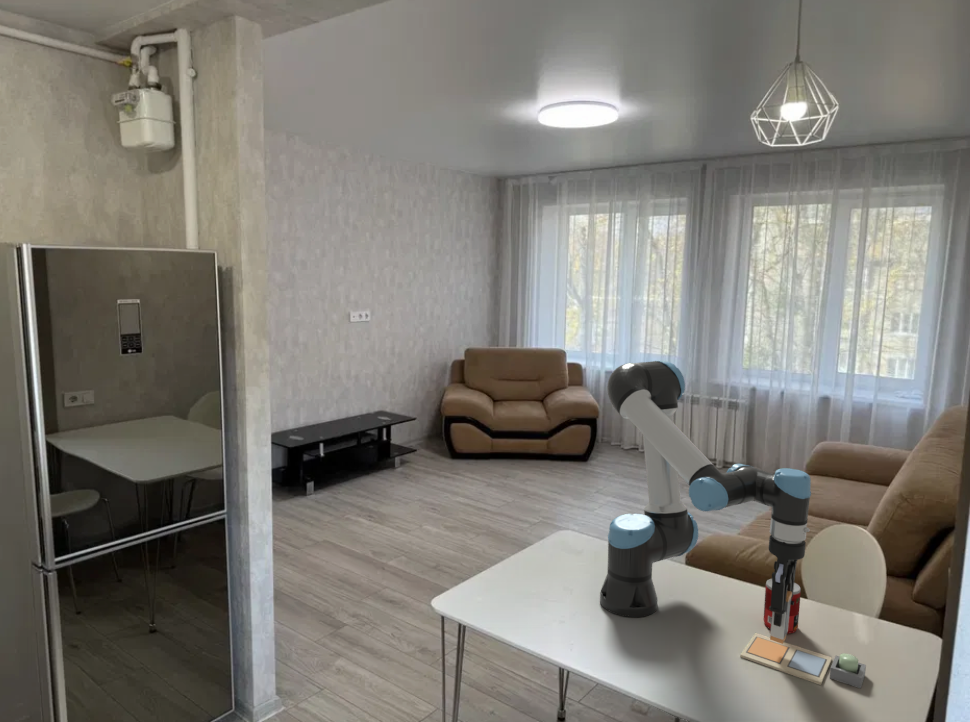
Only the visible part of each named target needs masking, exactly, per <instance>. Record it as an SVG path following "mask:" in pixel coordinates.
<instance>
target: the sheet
mask: <svg viewBox="0 0 970 722" xmlns="http://www.w3.org/2000/svg"><path fill="white" fill-rule="evenodd" d="M750 638H751V639H750V640H749V641H748V643H747V645H746V646H745V647H744V648H743V650H742V652H741V653H740V654H739V655H740V656H739V657H740V658H742V659H745V660H748V661H751V662H754V663H757V664H760V665H762V666H764V667H765V666H766V667H768V668H771V669H774V670H777V671H780V672H782V673H784V674H788V675H791V676H794V677H796V678H800V679H802V680H805V681H808V682H811V683H813V684H817V685H820V686H821V685H822V684H823V681H824V679H825V677H826V674H827V672H828V669H829V668H830V666H831V664H832V663H831V662H833V657H832V656H828V655H826V654H822V653H820V652H815V651H813V650H810V649H807V648H803V647H801V646H798V645H795V644H792V643H788V642H785V641H784V643H783V644H781V643H778V642H776V641H773V640H770V636H766V635H763V634H761V633H756V632H755V633H754V634H753V635H752V637H750Z"/></svg>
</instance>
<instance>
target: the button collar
mask: <svg viewBox="0 0 970 722" xmlns="http://www.w3.org/2000/svg"><path fill="white" fill-rule="evenodd" d="M839 659H840V655H835V656H834V658H833V660H832V663H831V664H830V667H829V668H830V670H829V671H830V672H829V678H830V679H831V680H835V681H837V682H840V683H843V684H846V685H849V686H851V687H855V688H858V689H861V688H862V686H863V683H864V679H865V678H866V667H867V665H866V664H865V663H861V662H858V670H857V674H855V673H852V672H849V671H846V670H842V669H839Z"/></svg>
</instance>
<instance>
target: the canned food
mask: <svg viewBox="0 0 970 722" xmlns="http://www.w3.org/2000/svg"><path fill="white" fill-rule="evenodd" d="M764 592H765V593H764V605H763V606H764V607H763V623H764V626H765V627H766V628H768V629H769V630H771V621H772V612H773V611H771V610H770V609H769V607H770V606H771V594H772V578H770V579H767V580H766V583H765V591H764ZM801 594H802V593H801V587H800V585H799V584H798V583H796V582H794V589H793V598H792V599H791V601H794V605H791V604H790V612H789V623H788V632H787V634H793V633H796V632H797V630H798V627H799V619H800V606H801ZM787 634H786V635H787Z"/></svg>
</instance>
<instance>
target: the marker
mask: <svg viewBox="0 0 970 722" xmlns="http://www.w3.org/2000/svg"><path fill="white" fill-rule="evenodd" d="M791 597H792V592H791V591H787V597H786V605H785V612H786V619H785V630H784V639H783V640H782V639H779V638H776V637H773V636H769V637H770V640H773V641H776V642H778V643H781V644H783V643H784V642H785V641H786V639H787V629H788V621H789V612H790V604H791ZM771 624H772V621H771ZM769 631H770V632H769V633H770V635H771V629H769Z"/></svg>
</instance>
